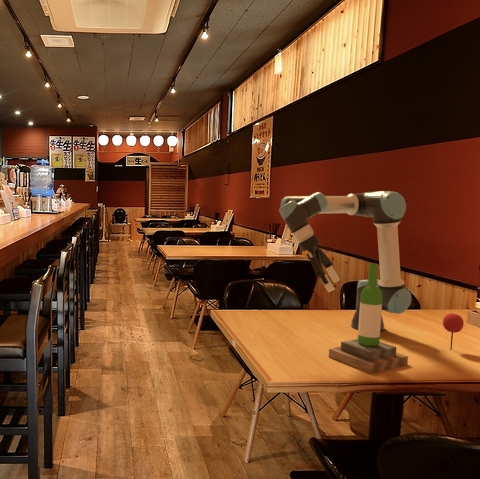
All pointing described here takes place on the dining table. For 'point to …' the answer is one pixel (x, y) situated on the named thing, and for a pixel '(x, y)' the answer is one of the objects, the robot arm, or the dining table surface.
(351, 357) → the plinth
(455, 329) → the lollipop
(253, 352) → the dining table surface
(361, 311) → the wine bottle
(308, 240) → the robot arm
